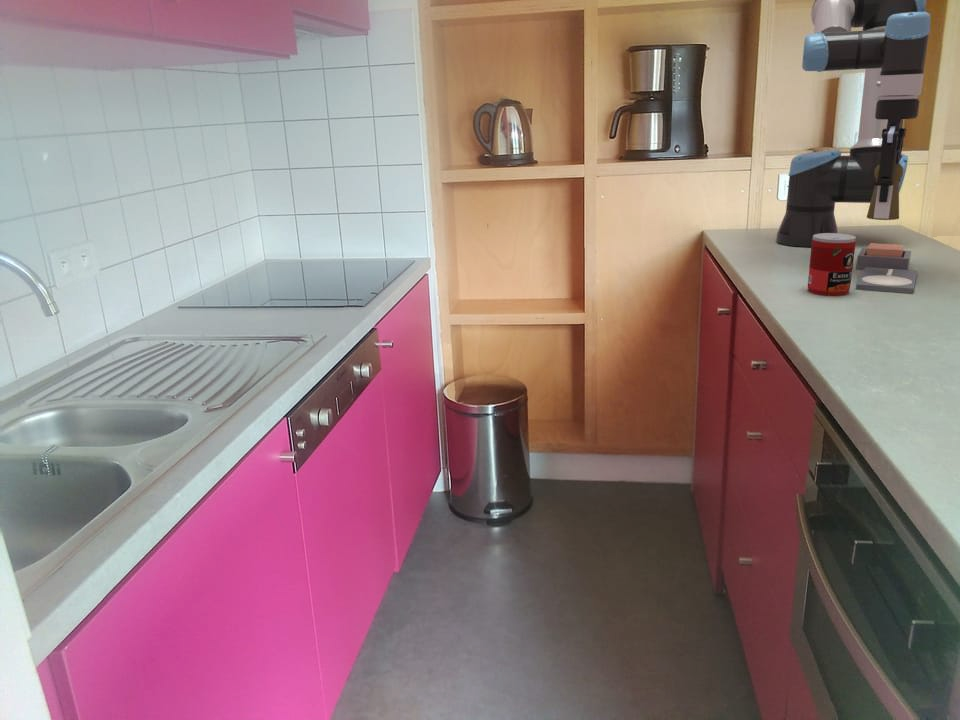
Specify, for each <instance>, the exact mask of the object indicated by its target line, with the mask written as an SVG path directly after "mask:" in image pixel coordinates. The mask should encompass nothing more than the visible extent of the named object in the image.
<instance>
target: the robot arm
mask: <svg viewBox="0 0 960 720" xmlns="http://www.w3.org/2000/svg"><path fill="white" fill-rule="evenodd" d="M926 7H927V0H814V3H813V4H812V7H811V12H810V17H811V22H812V24H813V26H814V30H813V31H814V33H809V34H807V35H806V36H805V37H804V43H803V50H802V51H803V53H802V66H801V67H802V70H803V71H805V72H817V73H821V72H833V71H848V70H850V71H851V70H852V71H853V70H864V79H863V80H864V81H863V89H862V97H861V106H860V116H859V117H860V119H859V126H858V127H859V128H858V138H857V141H856V143H854V144H852V146H851V147H850V149H849V155H842V153H841V150H839V149H831V150H830V149H829V150H821V151H813V152H806V153H802V154H798V155H795V156H794V157H792V159H791V161H790V168H789V173H788V187H787V196H786V207H785V208H786V209H785V214H784V216H783V218H782V221H781V223H780V226H779V228H778V230H777V233H776V240H775V241H776V243H778V244H780V245H785V246H793V247H800V248H801V247H803V248H805V247H806V248H809V247H810V248H811V245H812V238H813V235H815V234H821V233H839V230H838V226H837V222H836V217H835V206H836V203H848V204H849V203H853V204H854V203H855V204H856V203H857V204H859V203H861V204H862V203H863V204H870V202H871V199H872V195H873V191H874V188H875V186H878V187H877V195H876V203H875V211H874V218H881V219H889V213H890V205H891V198H892V190H893V186H892V184H893V176H894V169H895V163H896V164H900V165H901V166H902V167H903V175H902V177H901V178H900V179H899V193H900V192H901V189H902V186H903V184H904V180H905V176H906V172H907V169H908V162H909V156H908V155H906V154H905V153H902V152H903V145H904V140H905V137H906V133H907V128H903V127H904V126H903V125H904V124H903V123H904V120H913V119H916V118H917V117H918V114H919V107H920V100H919V98H918V96H920V95H922V88H923V83H924V76H925V75H924V68H925V62H926V55H927V48H928V42H929V35H930V33H931V19H932V17H931V14H930V13H929V12H928V11H926ZM852 28H854V29H856V28H857V29H858V28H862V30H854V31H852ZM878 165H880V167H879V175H878V179H877V182H876V178H875V175H874V172H875V168H876V167H877V166H878Z"/></svg>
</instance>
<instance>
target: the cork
mask: <svg viewBox="0 0 960 720" xmlns="http://www.w3.org/2000/svg"><path fill="white" fill-rule="evenodd" d="M879 167H880V165H878V166H877V167H876V168H875V172H874V175H875V178H876V182H877V179H878V175H879ZM902 175H903V167H902V166H901V165H900V164H896V163H895V169H894V176H893V184H892V186H893V190H892V198H891V205H890V213H889V219H881V218H874V211H875V203H876V195H877V187H878V186H875V188H874V191H873V195H872V199H871V202H870V203H869V207H868V210H867V214H866V219H870V220H878V221H883V220H884V221H893V220H896V221H897V220H899V219H900V192H899V179H900V178H901V177H902Z"/></svg>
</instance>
